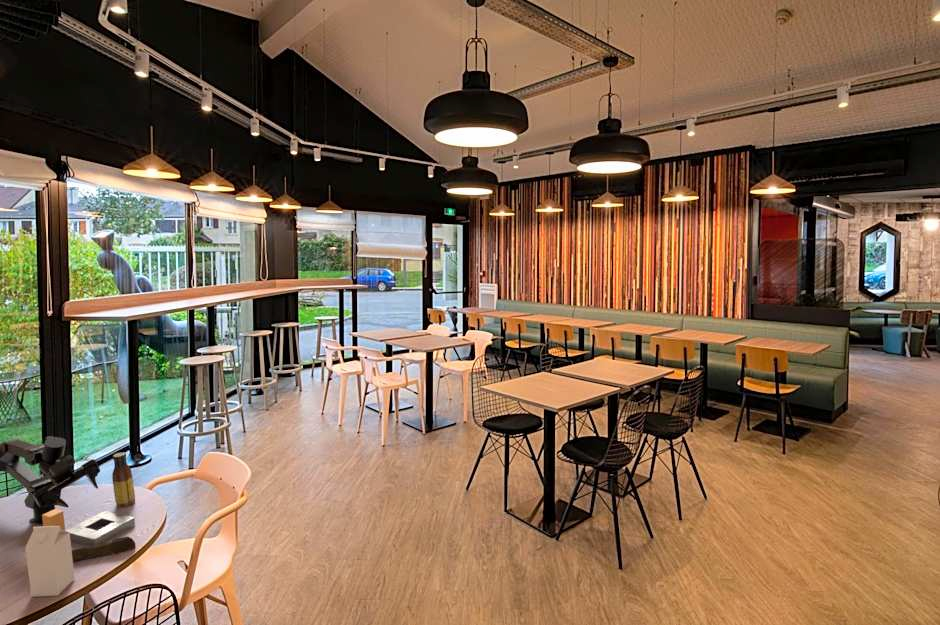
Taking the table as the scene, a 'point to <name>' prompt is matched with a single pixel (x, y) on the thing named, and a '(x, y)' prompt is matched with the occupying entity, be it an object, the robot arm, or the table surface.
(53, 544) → the milk carton
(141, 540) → the table surface
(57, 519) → the orange rectangular block
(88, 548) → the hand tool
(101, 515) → the grey square hole board
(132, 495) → the sauce bottle
